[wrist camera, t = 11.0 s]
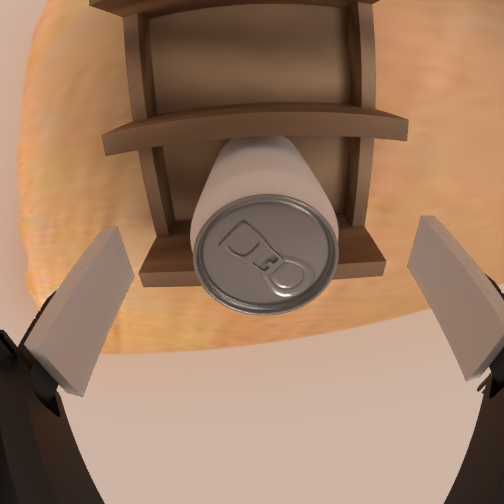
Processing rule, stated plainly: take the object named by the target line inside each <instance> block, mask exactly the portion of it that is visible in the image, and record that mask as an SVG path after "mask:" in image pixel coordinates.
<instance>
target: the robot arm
mask: <svg viewBox="0 0 504 504" xmlns="http://www.w3.org/2000/svg"><path fill="white" fill-rule="evenodd" d="M407 267H408V269H409V270H410V272H411V274H412V275H413V277H414V279H415V280H416V282H417V284H418V285H419V287H420V289H421V291H422V292H423V294H424V296H425V298H426V299H427V301H428V303H429V305H430V307H431V309H432V310H433V312H434V314H435V316H436V318H437V320H438V322H439V324H440V326H441V328H442V329H443V332H444V334H445V336H446V338H447V340H448V341H449V344H450V346H451V348H452V350H453V353H454V355H455V357H456V359H457V361H458V364H459V366H460V368H461V371H462V373H463V375H464V378H465V380H466V381H470V380H472V379H475V378H478V377H480V376H481V375H482V374H483V373H484V372H485V370H486V369H487V368H488V367H490V370H491V373H490V374H489V376H488V377H487V378H486V379H485V380H484V381H483V382H482V383H481V384H480V386H479V387H478V389H477V391H480V390H481V389H482V388H483V387H484V386H485V385H486V387H485V389H484V390H483V392H482V393H483V394H484V396H483V400H482V404H481V408H480V412H479V416H478V419H477V422H476V426H475V429H474V433H473V435H472V438H471V441H470V444H469V447H468V450H467V453H466V455H465V458H464V461H463V463H462V465H461V468H460V471H459V473H458V475H457V477H456V480H455V482H454V484H453V486H452V488H451V490H450V492H449V495H448V496H447V498H446V500H445V502H444V504H504V294H503V293H501V290H500V289H499V287H498V286H497V284H496V283H495V282H494V281H493V280H492V279H491V278H490V277H488V276H487V275H486V274H484V272H483V271H482V270H481V269H480V267H479V266H478V265H477V264H476V262H475V261H474V260H473V259H472V258H471V256H470V255H469V254H468V253H467V252H466V250H465V249H464V248H463V247H462V246H461V245H460V243H459V242H458V241H457V240H456V239H455V238H454V237H453V236H452V234H451V233H450V232H449V231H448V230H447V229H446V228H445V227H444V226H443V225H442V224H441V223H440V222H439V221H438V219H437V218H436V217H435V216H420V221H419V225H418V229H417V233H416V237H415V241H414V244H413V248H412V251H411V255H410V258H409V262H408V265H407ZM134 277H135V276H134V273H133V270H132V268H131V265H130V262H129V259H128V256H127V253H126V250H125V247H124V244H123V241H122V238H121V235H120V232H119V229H118V227H108V228H103V229H102V231H101V232H100V233H99V234H98V235H97V237H96V238H95V239H94V240H93V242H92V243H91V244H90V246H89V247H88V248H87V249H86V251H85V252H84V253H83V255H82V256H81V257H80V259H79V260H78V261H77V263H76V264H75V265H74V267H73V268H72V270H71V271H70V272H69V274H68V275H67V277H66V278H65V279H64V281H63V282H62V284H61V285H60V287H59V288H58V290H57V291H55V292H54V293H53V294H52V295H51V296H50V297H49V298H47V300H46V301H45V303H44V304H43V306H42V307H41V311H39V312H38V313H37V315H36V319H34V320H33V322H32V323H31V325H30V327H29V328H28V330H27V332H26V334H25V335H24V337H23V339H22V340H21V342H20V344H19V346H18V347H17V346H16V345H15V344H14V342H13V341H12V340H11V339H10V337H9V336H8V335H7V333H6V332H5V331H4V330H0V504H105V503H104V502H103V500H102V498H101V496H100V494H99V492H98V490H97V489H96V486H95V484H94V482H93V480H92V478H91V476H90V474H89V472H88V470H87V468H86V465H85V463H84V461H83V458H82V456H81V454H80V452H79V449H78V447H77V444H76V441H75V439H74V436H73V433H72V431H71V428H70V425H69V422H68V419H67V416H66V413H65V410H64V407H63V403H62V400H61V397H60V395H59V393H58V392H57V391H56V389H57V387H58V385H60V386H61V387H62V388H63V389H64V390H65V391H66V392H67V393H69V394H73V395H77V396H80V397H83V396H84V393H85V390H86V387H87V385H88V382H89V379H90V376H91V374H92V371H93V369H94V366H95V363H96V361H97V359H98V356H99V354H100V351H101V349H102V347H103V344H104V342H105V339H106V337H107V335H108V332H109V330H110V328H111V326H112V323H113V321H114V319H115V317H116V314H117V312H118V310H119V308H120V306H121V304H122V302H123V299H124V297H125V295H126V293H127V291H128V289H129V287H130V285H131V283H132V281H133V279H134Z"/></svg>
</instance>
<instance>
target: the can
mask: <svg viewBox="0 0 504 504" xmlns="http://www.w3.org/2000/svg"><path fill="white" fill-rule="evenodd" d="M190 242H191V248H192V252H193V264H194V269H195V273H196V275H197V278H198V280H199V282H200V283H201V285H202V286H203V288H204V289H205V290H206V291H207V293H208V294H209V295H210V296H211V297H213V298H214V299H215V300H216V301H218V302H219V303H221V304H222V305H224V306H226V307H228V308H230V309H233V310H235V311H238V312H242V313H246V314H251V315H276V314H282V313H286V312H290V311H293V310H295V309H298V308H300V307H302V306H304V305H306V304H308V303H309V302H311V301H312V300H314V299H315V298H316V297H317V296H319V295H320V294H321V293H322V292H323V291H324V290H325V288H326V287H327V286H328V284H329V283H330V281H331V280H332V278H333V276H334V274H335V271H336V268H337V264H338V258H339V248H338V223H337V219H336V215H335V212H334V209H333V207H332V205H331V203H330V201H329V199H328V197H327V196H326V194H325V192H324V190H323V189H322V187H321V185H320V184H319V182H318V180H317V179H316V177H315V176H314V174H313V172H312V171H311V169H310V168H309V166H308V165H307V163H306V161H305V160H304V158H303V157H302V155H301V154H300V152H299V151H298V150H297V148H296V147H295V146H294V144H293V143H292V142H291V141H290V140H289V139H287V138H286V137H285V136H261V137H243V138H231V139H230V140H229V141H228V142H227V143H226V144H225V145H224V147H223V148H222V149H221V151H220V153H219V155H218V157H217V159H216V161H215V163H214V166H213V168H212V170H211V172H210V175H209V177H208V179H207V182H206V184H205V186H204V189H203V191H202V194H201V196H200V199H199V201H198V204H197V206H196V209H195V212H194V215H193V219H192V223H191V230H190Z"/></svg>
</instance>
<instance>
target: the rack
mask: <svg viewBox="0 0 504 504" xmlns="http://www.w3.org/2000/svg"><path fill="white" fill-rule="evenodd" d="M377 1H379V0H89V6H92V7H95V8H98V9H101V10H104V11H107V12H110V13H113V14H115V15H118V16H121V17H123V19H124V38H125V53H126V64H127V74H128V84H129V92H130V100H131V107H132V115H133V122H130V123H128V124H126V125H123V126H121V127H119V128H116V129H114V130H112V131H110V132H108V133H105V134H103V135H102V139H103V144H104V150H105V154H106V156H109V155H113V154H118V153H124V152H129V151H134V150H138V152H139V157H140V162H141V168H142V173H143V178H144V183H145V187H146V192H147V197H148V201H149V205H150V210H151V214H152V218H153V222H154V227H155V231H156V235H157V237H156V239H155V241H154V243H153V245H152V247H151V249H150V251H149V253H148V255H147V257H146V259H145V261H144V263H143V265H142V267H141V269H140V271H139V276H140V279H141V281H142V284H143V287H179V286H202V285H201V283H200V282H199V280H198V278H197V275H196V273H195V269H194V264H193V252H192V248H191V242H190V230H191V223H192V219H193V215H194V212H195V209H196V206H197V204H198V201H199V199H200V196H201V194H202V191H203V189H204V186H205V184H206V182H207V179H208V177H209V175H210V172H211V170H212V168H213V166H214V163H215V161H216V159H217V157H218V155H219V153H220V151H221V149H222V148H223V147H224V145H225V144H226V143H227V142H228V141H229V140H230V139H231V138H243V137H261V136H285V137H286V138H287V139H289V140H290V141H291V142H292V143H293V144H294V146H295V147H296V148H297V150H298V151H299V152H300V154H301V155H302V157H303V158H304V160H305V161H306V163H307V165H308V166H309V168H310V169H311V171H312V172H313V174H314V176H315V177H316V179H317V180H318V182H319V184H320V185H321V187H322V189H323V190H324V192H325V194H326V196H327V197H328V199H329V201H330V203H331V205H332V207H333V209H334V212H335V215H336V219H337V223H338V248H339V258H338V264H337V268H336V271H335V274H334V276H333V278H332V280H333V279H348V278H361V277H374V276H383V272H384V268H385V264H386V260H385V258H384V257H383V255H382V253H381V252H380V250H379V249H378V247H377V245H376V244H375V242H374V241H373V239H372V237H371V236H370V234H369V233H368V231H367V230H366V228H365V227H364V225H365V218H366V211H367V203H368V195H369V187H370V178H371V168H372V156H373V143H374V138H379V139H390V140H400V141H407V134H408V120H407V119H405V118H402V117H399V116H396V115H393V114H390V113H387V112H383V111H380V110H377V109H375V96H376V68H375V40H374V24H373V13H372V4H373V3H375V2H377Z"/></svg>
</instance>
